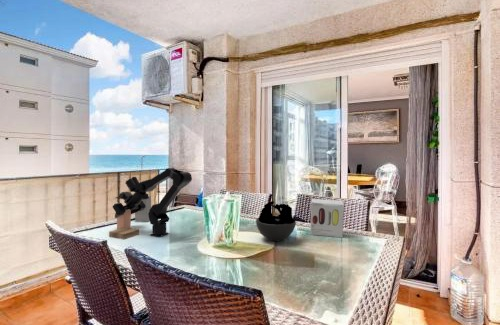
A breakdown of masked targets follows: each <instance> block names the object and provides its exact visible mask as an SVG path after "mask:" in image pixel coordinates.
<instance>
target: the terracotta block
mask: <svg viewBox="0 0 500 325" xmlns="http://www.w3.org/2000/svg"><path fill="white" fill-rule="evenodd" d="M122 205H123V206H126V204H122ZM131 216H132V214H131V210H130V209H129V210H126V212H125V213H124V214H123V215H121V216H119V217H118V218H116V230H117V229H121V228H124V227H126V228H132V226H131V223H132V221H131V220H132V218H131Z"/></svg>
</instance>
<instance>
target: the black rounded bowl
mask: <svg viewBox="0 0 500 325" xmlns="http://www.w3.org/2000/svg"><path fill="white" fill-rule="evenodd" d="M274 203H275V201H274V200H272V201H271V200H270V201H269V202H267V203H265V204H264V205H263V208H262V209H261V211H260V214H259V216H258V218H256V220H255V223H256V228H257V230H258V231H259V233H260V234H261V235H262V237H264V238H265V239H268V240H270V241H273V242H280V241H284V240H285V239H288V237H290V235H292V234H293V232H294V230H295V228H296V223H297V221H296V219H295V218H294V217H293V208H292V207H291V206H290V205H289V204H286V203H280V204H278V203H276V204H274ZM273 208H274V209H275V210H277V211H278V213H279V214H278V215H273V213H272V209H273Z"/></svg>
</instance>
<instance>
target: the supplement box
mask: <svg viewBox="0 0 500 325" xmlns="http://www.w3.org/2000/svg"><path fill="white" fill-rule="evenodd" d="M344 208H345V205H344V202H343V200H340V199H339V200H337V199H334V200H333V199H322V198H321V199H319V198H311V207H310V209H311V210H310V232H309V233H310V235H313V236H323V237H332V238H334V237H336V238H342V237H343V238H344V236H343V235H344V215H345V214H344V213H345V211H344Z"/></svg>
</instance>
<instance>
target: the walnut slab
mask: <svg viewBox="0 0 500 325" xmlns="http://www.w3.org/2000/svg"><path fill="white" fill-rule="evenodd" d="M139 235H140V229H139V228H137V229H136V228H132V227H131V228H126V227H124V228H121V229H117V228H116V229H114V230H111V231H110V230H109V232H108V237H109V238H113V239H120V240H125V239H129V238H132V237H136V236H139Z"/></svg>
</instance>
